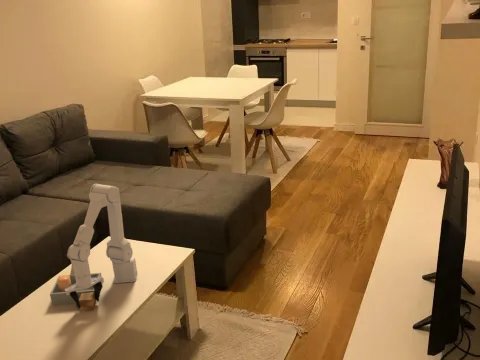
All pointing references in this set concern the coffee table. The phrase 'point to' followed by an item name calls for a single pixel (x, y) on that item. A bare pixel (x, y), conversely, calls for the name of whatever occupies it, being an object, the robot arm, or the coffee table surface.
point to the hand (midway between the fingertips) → (88, 303)
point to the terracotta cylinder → (63, 282)
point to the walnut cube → (87, 301)
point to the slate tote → (63, 298)
